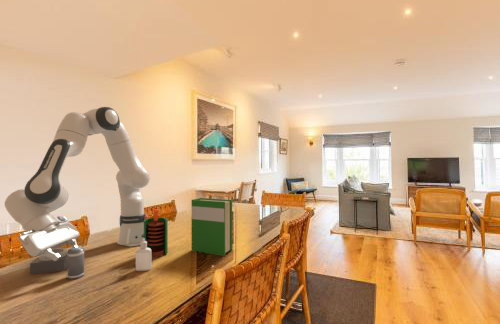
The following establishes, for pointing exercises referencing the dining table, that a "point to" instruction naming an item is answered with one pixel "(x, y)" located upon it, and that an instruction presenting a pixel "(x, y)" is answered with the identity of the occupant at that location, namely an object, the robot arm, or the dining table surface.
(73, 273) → the lens
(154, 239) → the motor
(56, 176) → the robot arm
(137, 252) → the eye dropper bottle
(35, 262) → the grey holder base
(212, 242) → the hardback book
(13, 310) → the dining table surface
